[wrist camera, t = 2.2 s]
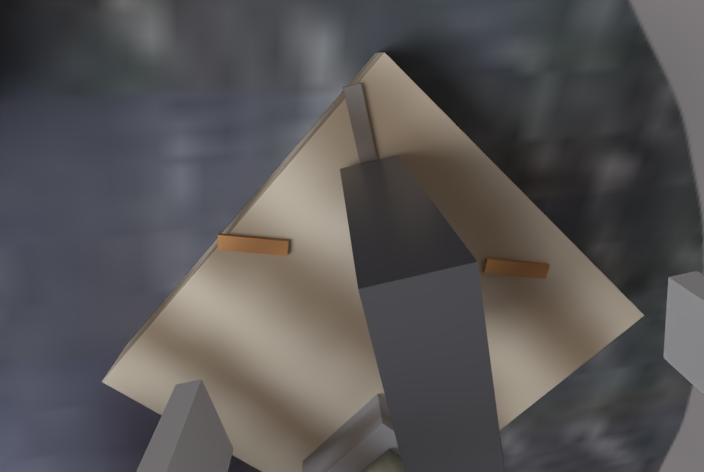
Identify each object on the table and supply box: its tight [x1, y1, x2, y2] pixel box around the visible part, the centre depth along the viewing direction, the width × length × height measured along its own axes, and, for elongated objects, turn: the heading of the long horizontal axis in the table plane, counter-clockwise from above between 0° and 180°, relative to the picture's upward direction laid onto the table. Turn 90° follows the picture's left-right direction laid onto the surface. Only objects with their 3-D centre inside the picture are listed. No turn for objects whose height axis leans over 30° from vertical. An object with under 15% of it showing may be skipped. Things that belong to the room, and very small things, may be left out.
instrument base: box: [102, 53, 644, 472], centre depth 22 cm, size 20×18×6 cm
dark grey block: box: [340, 155, 505, 472], centre depth 15 cm, size 9×2×10 cm, turn 13°
